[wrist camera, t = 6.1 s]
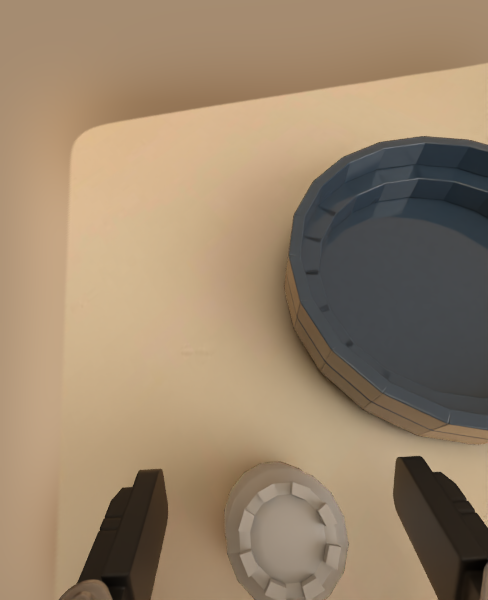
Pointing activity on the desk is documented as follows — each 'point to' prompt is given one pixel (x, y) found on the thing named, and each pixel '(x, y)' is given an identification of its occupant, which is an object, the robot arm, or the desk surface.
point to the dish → (399, 283)
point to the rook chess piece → (284, 534)
